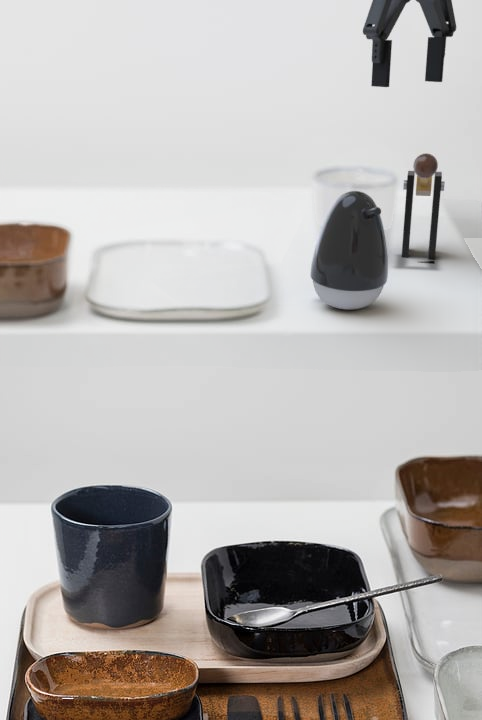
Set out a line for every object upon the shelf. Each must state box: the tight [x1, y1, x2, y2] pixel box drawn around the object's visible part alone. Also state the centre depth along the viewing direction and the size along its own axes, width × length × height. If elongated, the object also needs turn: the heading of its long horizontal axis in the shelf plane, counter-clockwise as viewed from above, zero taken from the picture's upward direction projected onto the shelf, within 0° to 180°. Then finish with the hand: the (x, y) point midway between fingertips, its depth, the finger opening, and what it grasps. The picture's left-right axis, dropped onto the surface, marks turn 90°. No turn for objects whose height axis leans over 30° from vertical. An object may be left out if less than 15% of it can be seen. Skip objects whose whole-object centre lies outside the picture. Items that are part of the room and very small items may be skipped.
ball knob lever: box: [412, 153, 439, 197], centre depth 158 cm, size 13×3×3 cm, turn 168°
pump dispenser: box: [310, 190, 389, 311], centre depth 143 cm, size 10×10×15 cm
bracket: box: [401, 170, 446, 265], centre depth 165 cm, size 8×6×14 cm
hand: (407, 84), depth 165 cm, fingers open, 13 cm apart
